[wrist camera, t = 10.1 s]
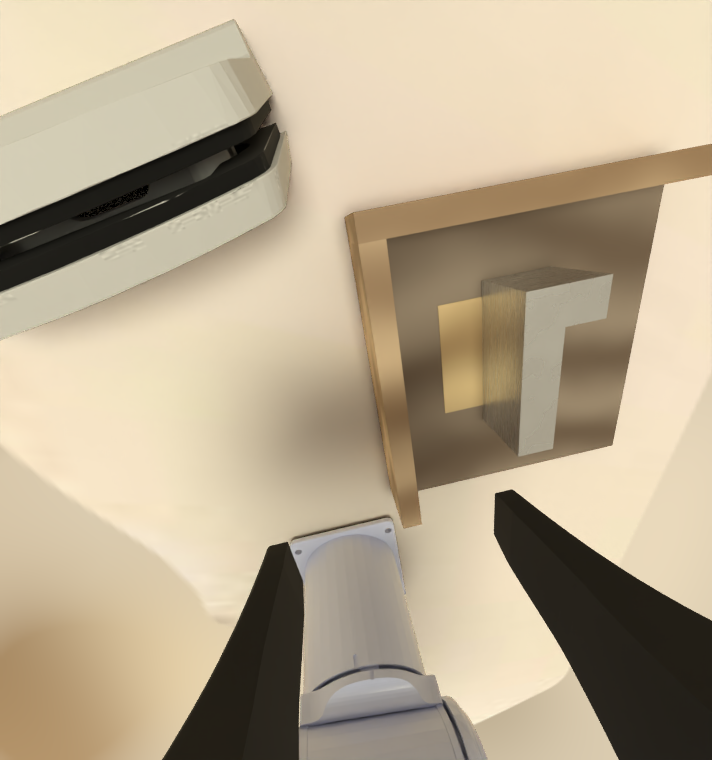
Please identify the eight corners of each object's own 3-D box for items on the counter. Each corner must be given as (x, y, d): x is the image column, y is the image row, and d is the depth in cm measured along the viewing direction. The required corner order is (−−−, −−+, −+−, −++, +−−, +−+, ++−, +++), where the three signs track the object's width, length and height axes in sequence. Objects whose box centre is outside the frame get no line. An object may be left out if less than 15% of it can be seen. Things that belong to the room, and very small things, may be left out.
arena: (603, 439, 25) (612, 445, 24) (406, 485, 24) (409, 493, 23) (650, 183, 18) (665, 181, 17) (371, 238, 17) (374, 238, 16)
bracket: (481, 280, 18) (526, 292, 14) (551, 266, 18) (613, 273, 14) (482, 419, 21) (518, 456, 18) (540, 406, 22) (586, 440, 18)
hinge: (245, 20, 13) (240, -51, 6) (293, 155, 16) (327, 215, 9) (-129, 175, 13) (-558, 286, 6) (-8, 276, 17) (-198, 423, 10)
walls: (603, 439, 25) (648, 470, 21) (390, 488, 24) (403, 528, 21) (654, 157, 17) (736, 139, 14) (344, 217, 16) (353, 212, 13)
